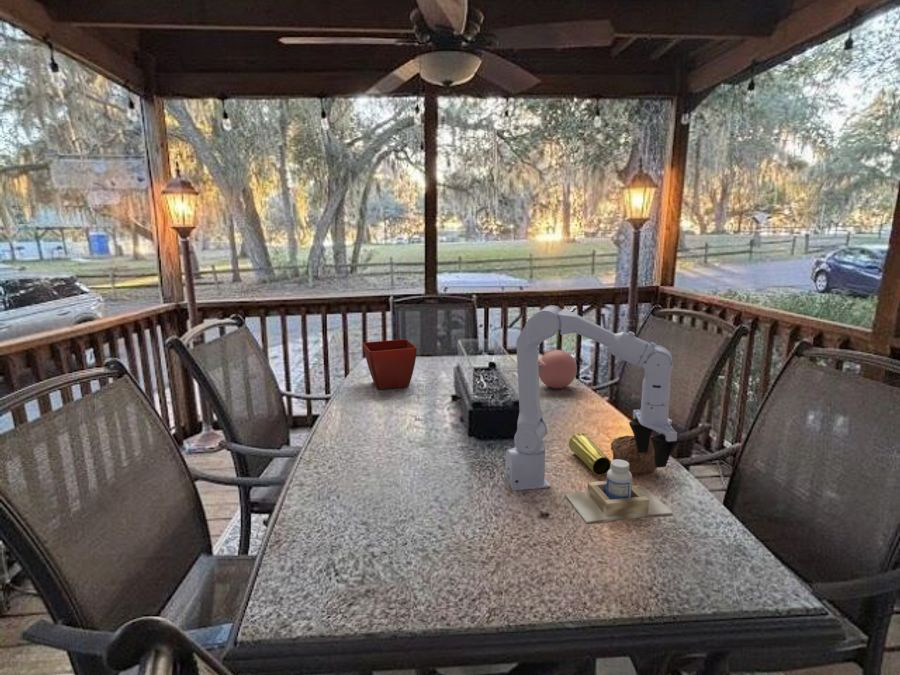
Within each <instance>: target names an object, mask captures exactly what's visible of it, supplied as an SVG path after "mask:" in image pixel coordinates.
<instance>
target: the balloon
mask: <svg viewBox="0 0 900 675" xmlns="http://www.w3.org/2000/svg"><path fill="white" fill-rule="evenodd" d="M538 365H539V380H540V381H541V382H542V383H543V384H544V385H545V386H547V387H548V388H551V389H557V390H558V389H563V388H566V387H569V385H570V384H572V383H573V382H574V381H575V378H576V377H577V373H578V367H577V362H576V360H575V359H574V357H573V356H572V355H571V353H568V352H566V351H565V350H561V349H552V350H549V351H547V352H545V353H544V354H543V355H542V356H541V357H540V359H538Z"/></svg>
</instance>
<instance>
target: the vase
mask: <svg viewBox="0 0 900 675" xmlns="http://www.w3.org/2000/svg"><path fill="white" fill-rule="evenodd" d="M568 447H569V450H570V451H571V452H573V453H574V454H575V455H576V457H578V459H580V460H581V461H582V462H583V463H584V464H585V466H587V467H588V469H589V470H590V471H591V472H592V473H593V474H595V475H597V476H598V477H601V476H606V475H607V472H608V470H610V469H611V467H610V465H611V461H612V460H610V459H609V457H608V456H607V455H605V453H604V452H603V451H602V450H601V449H600V448H599V447H598V446H597V445H596V443H594V442H593V441H592V440H591V439H590V438H589V436H588V435H587V434H586V433H584V432H577V433H575V434H573V435H572V436H571V438H569V441H568Z"/></svg>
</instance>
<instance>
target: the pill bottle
mask: <svg viewBox="0 0 900 675" xmlns="http://www.w3.org/2000/svg"><path fill="white" fill-rule="evenodd" d="M610 461H611V465H610V467H611V469H610V470H608V472H607V474H606V481H607V486H606V495H607V497H608V498H609V499H610V500H612V499H622V498H631V489H632V484H633V474H631V473H630V472H629V463H628V462H627V461H625V460H620V459H615V460H613V459H612V460H610Z"/></svg>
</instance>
